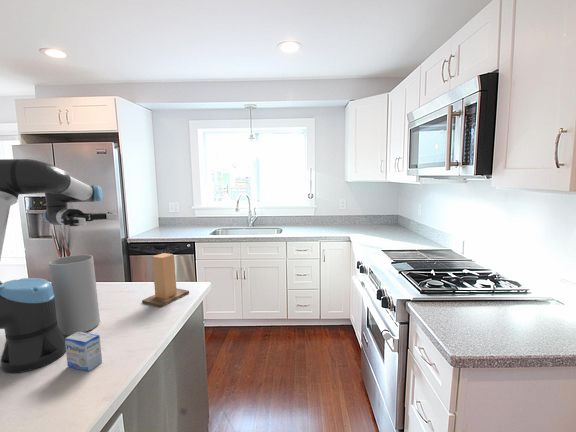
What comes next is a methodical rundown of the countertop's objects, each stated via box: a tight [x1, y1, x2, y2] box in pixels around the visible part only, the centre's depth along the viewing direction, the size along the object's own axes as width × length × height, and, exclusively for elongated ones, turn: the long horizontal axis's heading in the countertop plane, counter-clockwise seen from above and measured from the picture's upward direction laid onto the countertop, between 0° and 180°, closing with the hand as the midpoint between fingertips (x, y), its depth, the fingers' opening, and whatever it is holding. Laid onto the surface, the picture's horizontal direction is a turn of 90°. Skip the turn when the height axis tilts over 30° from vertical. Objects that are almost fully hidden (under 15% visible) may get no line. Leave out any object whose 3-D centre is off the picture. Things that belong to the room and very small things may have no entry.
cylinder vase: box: [48, 254, 101, 337], centre depth 105 cm, size 12×12×25 cm
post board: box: [141, 287, 190, 308], centre depth 131 cm, size 16×11×8 cm
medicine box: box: [65, 332, 103, 372], centre depth 84 cm, size 8×4×9 cm, turn 73°
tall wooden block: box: [151, 252, 177, 299], centre depth 131 cm, size 6×6×18 cm
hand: (101, 219), depth 124 cm, fingers open, 13 cm apart
